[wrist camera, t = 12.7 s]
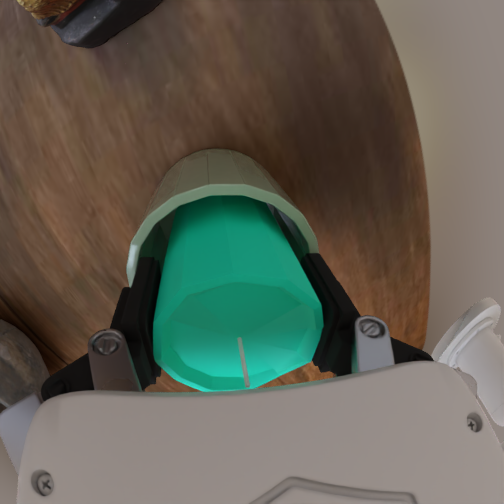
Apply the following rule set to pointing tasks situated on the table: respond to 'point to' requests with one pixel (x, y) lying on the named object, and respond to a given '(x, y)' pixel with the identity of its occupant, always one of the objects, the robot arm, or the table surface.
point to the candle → (232, 298)
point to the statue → (87, 18)
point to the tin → (214, 183)
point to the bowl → (18, 366)
